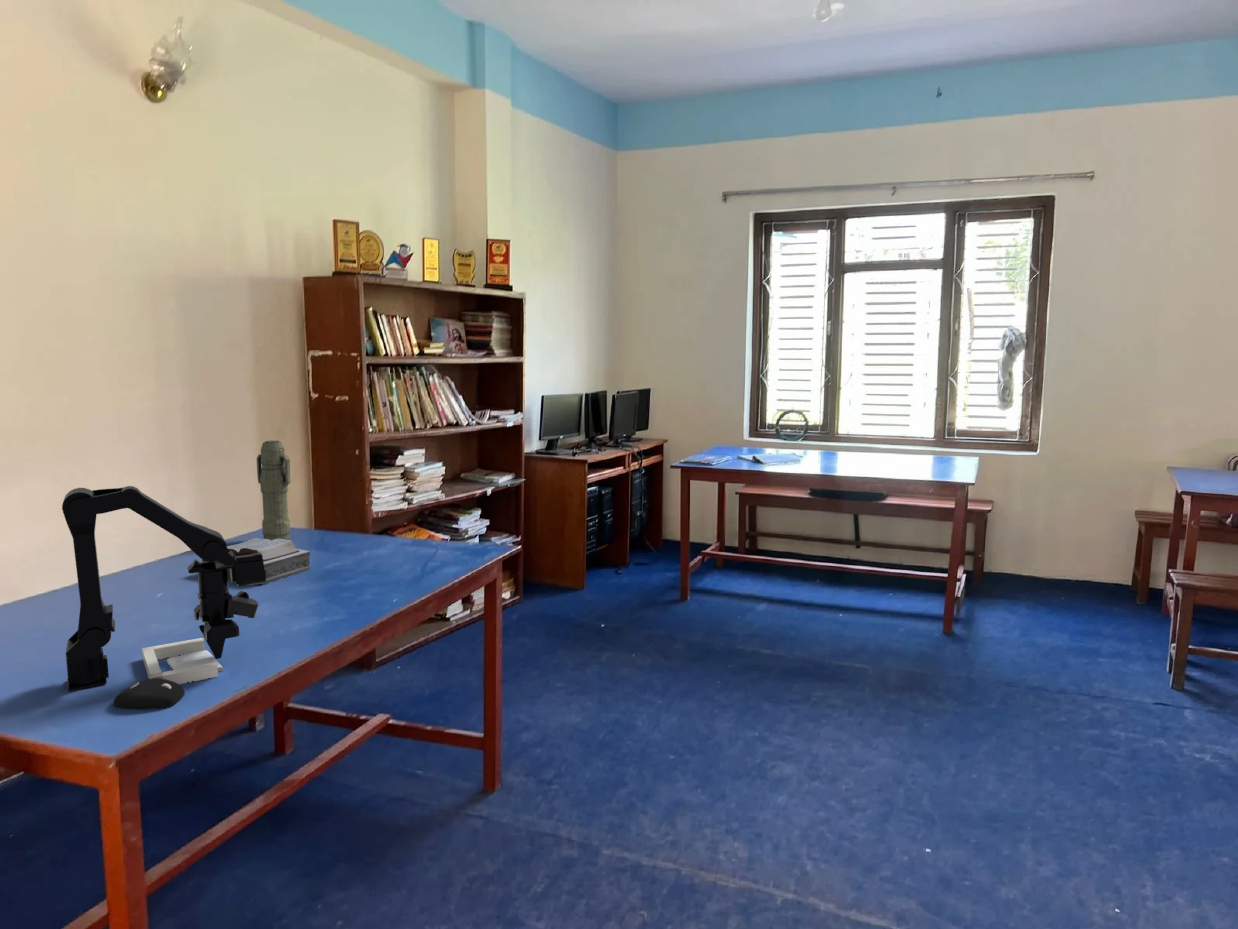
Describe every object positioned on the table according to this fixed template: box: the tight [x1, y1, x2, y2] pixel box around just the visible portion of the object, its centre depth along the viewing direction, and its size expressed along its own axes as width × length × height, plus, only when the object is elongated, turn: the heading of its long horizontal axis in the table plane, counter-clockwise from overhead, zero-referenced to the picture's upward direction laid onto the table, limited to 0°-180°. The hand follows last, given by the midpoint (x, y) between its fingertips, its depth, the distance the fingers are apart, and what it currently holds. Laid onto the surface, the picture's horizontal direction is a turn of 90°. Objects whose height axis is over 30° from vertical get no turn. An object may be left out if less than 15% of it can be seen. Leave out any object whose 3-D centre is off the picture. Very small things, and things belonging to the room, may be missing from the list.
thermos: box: [256, 440, 291, 540], centre depth 282 cm, size 9×12×35 cm
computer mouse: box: [113, 678, 186, 710], centre depth 156 cm, size 8×12×4 cm, turn 95°
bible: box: [201, 537, 311, 586], centre depth 243 cm, size 23×27×10 cm
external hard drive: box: [166, 649, 224, 673], centre depth 173 cm, size 2×8×12 cm
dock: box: [141, 637, 219, 685], centre depth 172 cm, size 12×19×2 cm, turn 35°
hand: (218, 658), depth 177 cm, fingers closed
